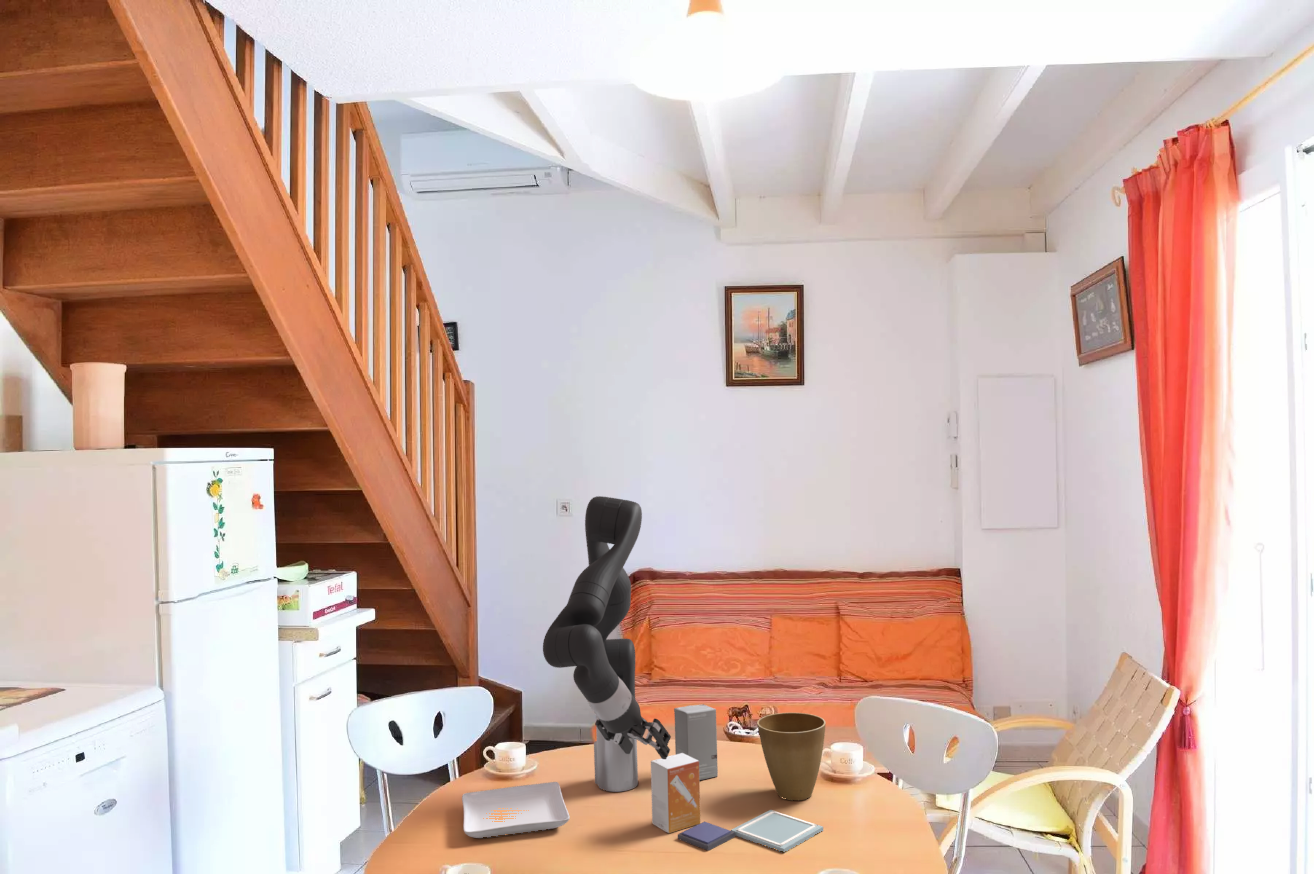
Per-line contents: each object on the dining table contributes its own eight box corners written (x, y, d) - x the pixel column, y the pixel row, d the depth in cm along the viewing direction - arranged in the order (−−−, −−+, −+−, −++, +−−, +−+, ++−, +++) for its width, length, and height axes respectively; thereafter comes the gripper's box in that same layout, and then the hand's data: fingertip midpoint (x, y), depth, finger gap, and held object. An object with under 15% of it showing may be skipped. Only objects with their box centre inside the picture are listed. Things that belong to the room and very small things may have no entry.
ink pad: (677, 838, 177) (677, 832, 177) (704, 825, 183) (704, 819, 183) (708, 850, 172) (708, 844, 172) (735, 836, 177) (734, 830, 177)
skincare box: (688, 783, 206) (686, 714, 206) (673, 774, 212) (671, 706, 213) (720, 776, 210) (718, 708, 210) (704, 767, 216) (702, 701, 216)
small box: (668, 834, 179) (666, 768, 180) (651, 823, 185) (649, 760, 185) (701, 824, 184) (699, 760, 184) (683, 814, 189) (681, 751, 189)
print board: (730, 833, 179) (730, 828, 179) (770, 813, 188) (770, 808, 188) (784, 853, 170) (784, 847, 170) (823, 830, 179) (823, 825, 179)
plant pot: (820, 780, 206) (817, 710, 206) (834, 806, 191) (832, 730, 191) (755, 783, 205) (752, 712, 205) (764, 809, 190) (762, 733, 191)
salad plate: (464, 848, 177) (463, 830, 177) (462, 807, 197) (461, 791, 197) (571, 834, 182) (571, 817, 182) (558, 795, 202) (558, 780, 202)
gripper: (652, 688, 166) (685, 739, 174) (590, 682, 174) (625, 732, 182) (636, 723, 161) (671, 774, 169) (573, 715, 169) (610, 765, 177)
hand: (647, 752), depth 176 cm, fingers open, 8 cm apart
